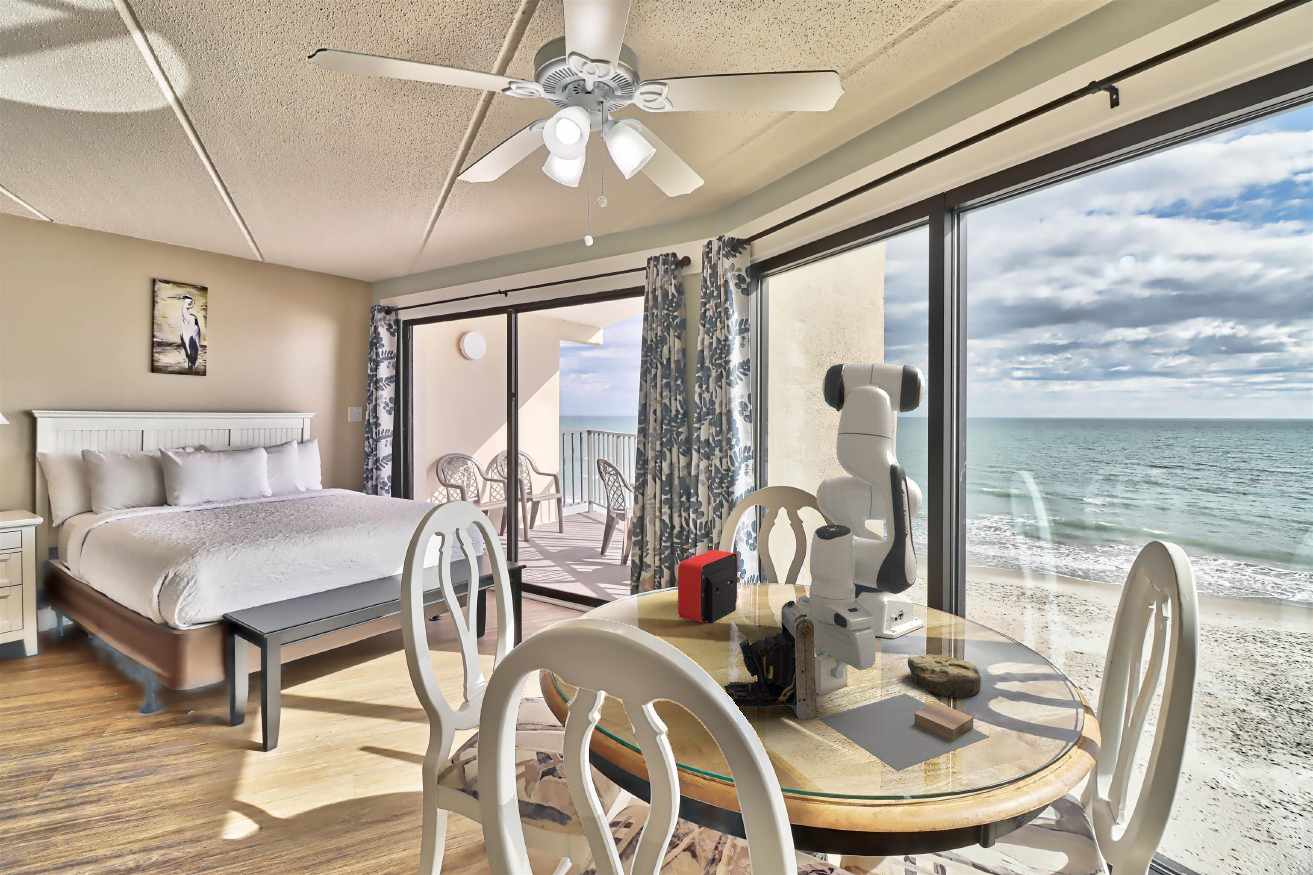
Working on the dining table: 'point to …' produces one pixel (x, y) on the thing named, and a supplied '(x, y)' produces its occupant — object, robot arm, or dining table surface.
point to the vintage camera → (781, 667)
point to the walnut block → (944, 721)
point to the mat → (896, 732)
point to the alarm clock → (707, 586)
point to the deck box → (828, 675)
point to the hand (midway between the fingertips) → (830, 674)
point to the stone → (945, 675)
